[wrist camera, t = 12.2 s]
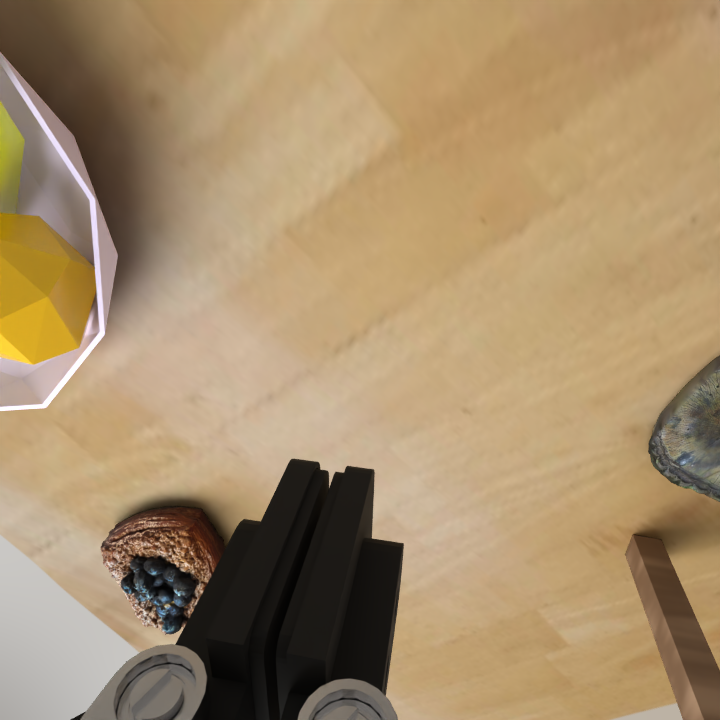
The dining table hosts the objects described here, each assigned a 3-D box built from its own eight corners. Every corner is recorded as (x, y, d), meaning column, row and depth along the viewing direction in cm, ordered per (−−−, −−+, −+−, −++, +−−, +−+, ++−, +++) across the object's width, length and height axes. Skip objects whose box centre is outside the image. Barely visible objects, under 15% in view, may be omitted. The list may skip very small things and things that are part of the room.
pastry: (161, 604, 54) (128, 658, 48) (103, 510, 50) (60, 558, 44) (258, 594, 51) (234, 651, 45) (205, 493, 46) (172, 542, 41)
